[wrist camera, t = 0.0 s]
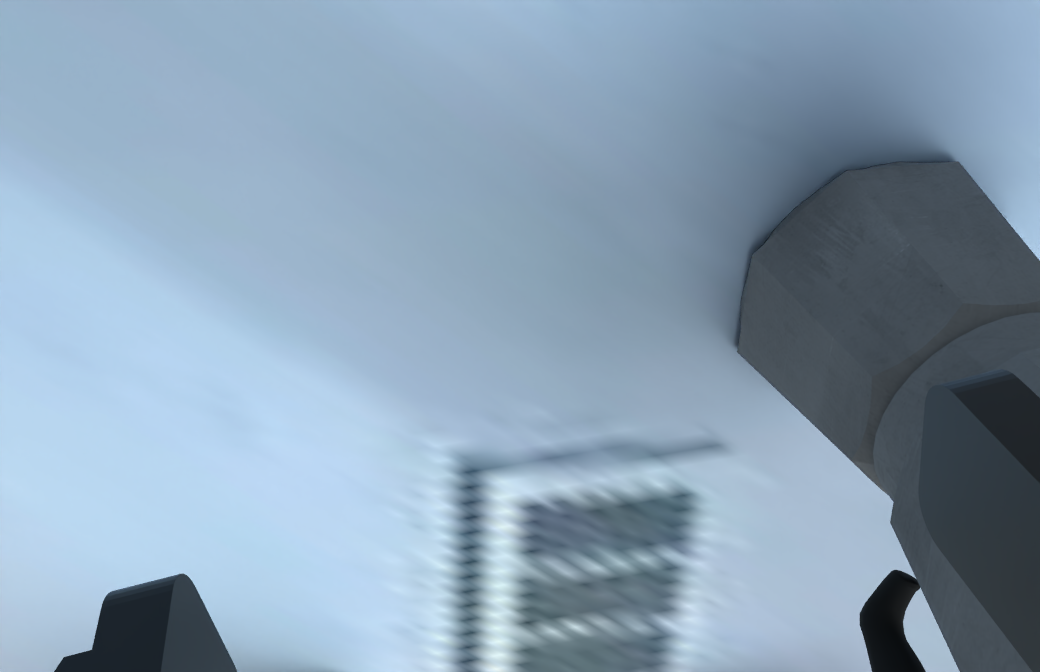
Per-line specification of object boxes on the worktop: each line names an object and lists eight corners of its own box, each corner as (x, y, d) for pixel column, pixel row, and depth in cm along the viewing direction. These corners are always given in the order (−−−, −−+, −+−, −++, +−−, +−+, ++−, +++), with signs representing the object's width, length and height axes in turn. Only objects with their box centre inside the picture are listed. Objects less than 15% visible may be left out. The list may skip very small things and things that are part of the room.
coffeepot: (864, 43, 27) (1541, 492, 12) (1105, 145, 30) (1860, 592, 16) (621, 466, 34) (871, 1072, 19) (839, 511, 38) (1192, 1054, 23)
